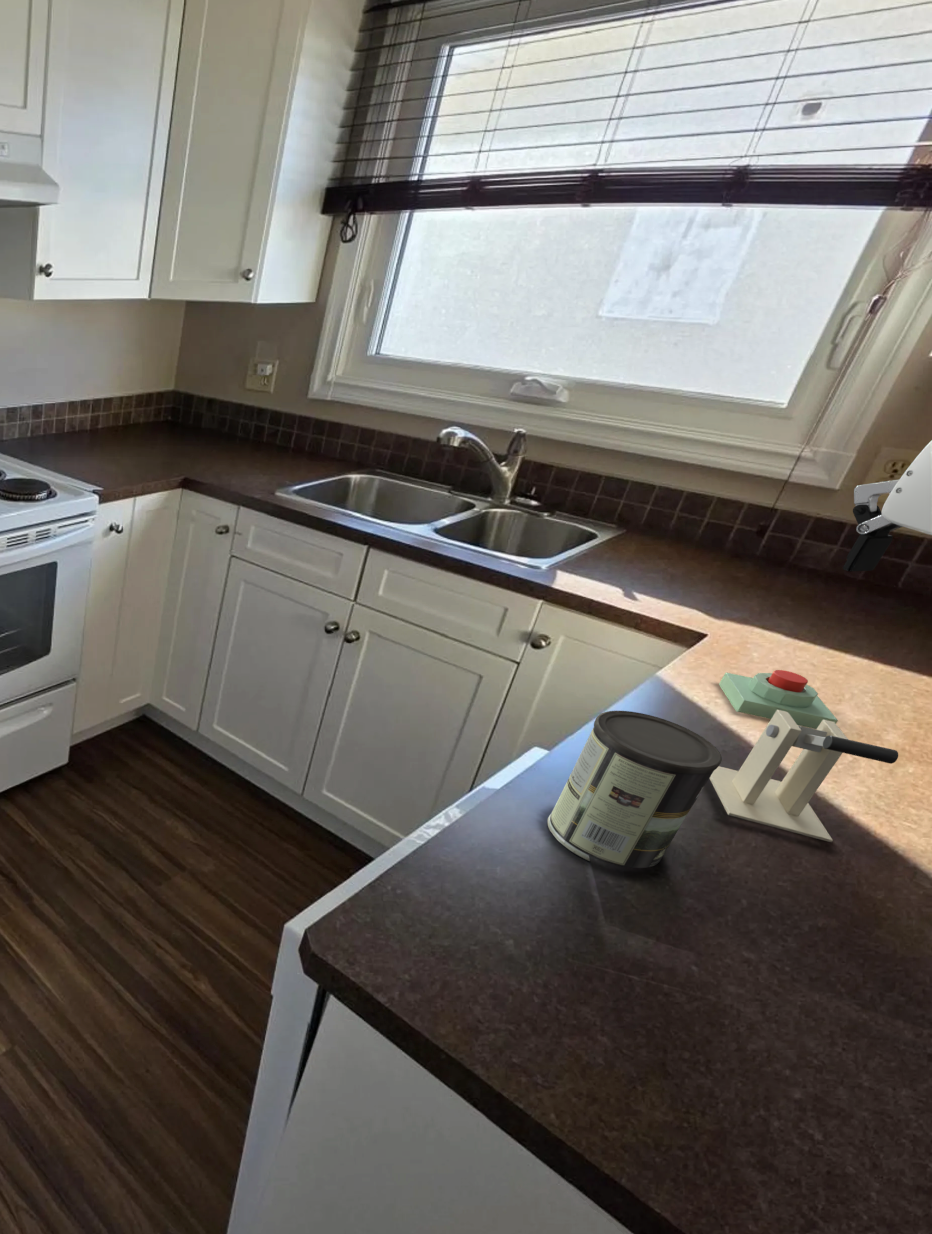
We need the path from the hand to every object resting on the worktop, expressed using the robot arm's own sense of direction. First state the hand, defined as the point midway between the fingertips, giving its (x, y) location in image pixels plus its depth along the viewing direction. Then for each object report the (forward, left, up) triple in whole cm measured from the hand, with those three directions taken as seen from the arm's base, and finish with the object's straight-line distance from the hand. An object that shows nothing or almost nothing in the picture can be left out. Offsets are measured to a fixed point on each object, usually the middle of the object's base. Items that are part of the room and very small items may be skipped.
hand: (910, 589), depth 80 cm
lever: (+1, +6, -17) cm, 19 cm away
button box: (-8, -28, -28) cm, 41 cm away
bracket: (+1, +2, -28) cm, 28 cm away
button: (-8, -28, -25) cm, 38 cm away
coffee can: (+19, +19, -28) cm, 39 cm away
